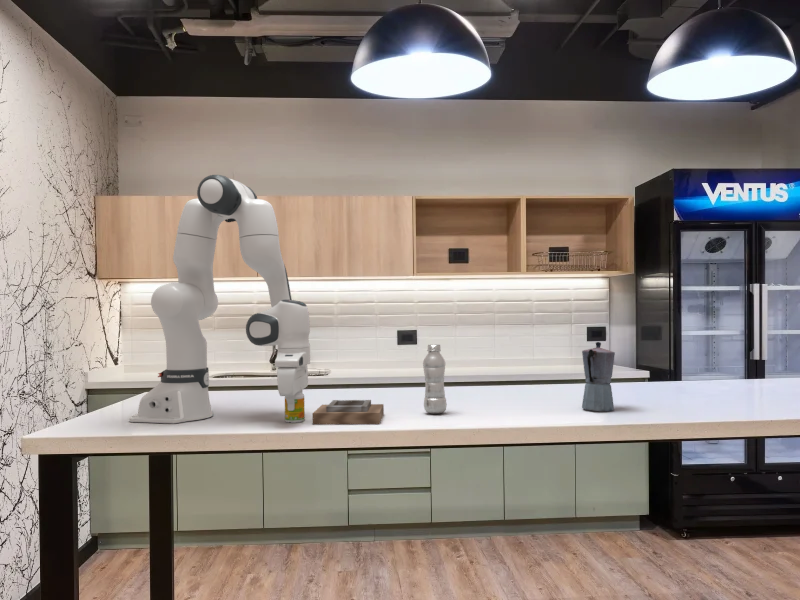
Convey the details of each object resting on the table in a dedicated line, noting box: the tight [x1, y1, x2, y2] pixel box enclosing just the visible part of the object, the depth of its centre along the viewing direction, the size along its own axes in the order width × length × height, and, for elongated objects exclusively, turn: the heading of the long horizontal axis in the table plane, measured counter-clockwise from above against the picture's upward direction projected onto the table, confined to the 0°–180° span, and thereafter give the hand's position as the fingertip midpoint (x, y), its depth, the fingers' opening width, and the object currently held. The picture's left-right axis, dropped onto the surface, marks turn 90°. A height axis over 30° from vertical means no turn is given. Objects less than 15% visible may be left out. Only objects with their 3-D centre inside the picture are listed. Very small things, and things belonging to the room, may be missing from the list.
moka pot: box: [581, 341, 616, 412], centre depth 167 cm, size 10×15×20 cm, turn 148°
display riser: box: [312, 399, 385, 425], centre depth 158 cm, size 18×14×4 cm
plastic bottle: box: [422, 344, 448, 415], centre depth 165 cm, size 6×7×20 cm
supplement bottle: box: [284, 386, 306, 424], centre depth 157 cm, size 5×5×10 cm
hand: (294, 407), depth 157 cm, fingers open, 6 cm apart
